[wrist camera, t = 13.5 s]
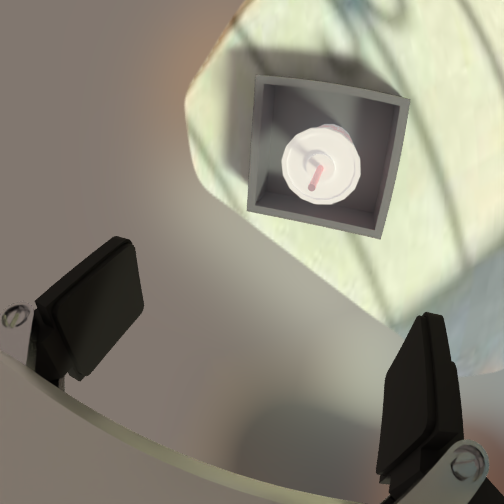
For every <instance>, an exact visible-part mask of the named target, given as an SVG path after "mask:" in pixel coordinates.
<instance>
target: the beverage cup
mask: <svg viewBox="0 0 504 504" xmlns="http://www.w3.org/2000/svg"><path fill="white" fill-rule="evenodd" d="M281 161H282V171H283V176H284V178H285V180H286V182H287V184H288V186H289V188H290V189H291V190H292V191H293V192H294V193H295V194H297V195H298V196H299V197H300V198H301V199H303V200H306V201H308V202H311V203H313V204H329V205H330V204H333V203H336V202H338V201H341V200H344V199H345V198H346V197H347V196H348V195H349V194H350V193H351V192H352V191H353V190H354V189H355V188H356V185H357V183H358V180H359V178H360V175H361V173H360V157H359V155H358V153H357V151H356V148H355V146H354V144H353V142H352V140H351V138H350V135H349V133H348V132H346V131H345V130H344V129H343V128H342V127H340V126H337V125H335V124H324V125H322V126H319V127H317V128H310V129H307V130H305V131H303V132H301V133H299V134H297V135H295V137H294V138H293V139H292V140H291V141H290V142H289V143H288V145H287V146H286V147H285V151H284V154H283V157H282V160H281Z"/></svg>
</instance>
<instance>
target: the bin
mask: <svg viewBox="0 0 504 504" xmlns="http://www.w3.org/2000/svg"><path fill="white" fill-rule="evenodd" d="M409 105H410V99H407V98H403V97H399V96H395V95H391V94H387V93H382V92H378V91H373V90H368V89H363V88H358V87H352V86H347V85H341V84H335V83H329V82H322V81H315V80H307V79H299V78H290V77H280V76H268V75H256V79H255V93H254V108H253V123H252V138H251V153H250V168H249V183H248V199H247V211H249V212H254V213H259V214H264V215H269V216H274V217H279V218H284V219H289V220H294V221H299V222H304V223H309V224H313V225H318V226H323V227H327V228H332V229H337V230H341V231H346V232H350V233H355V234H359V235H364V236H368V237H372V238H377V239H381V236H382V232H383V229H384V225H385V221H386V217H387V213H388V209H389V205H390V201H391V197H392V193H393V188H394V184H395V180H396V175H397V171H398V166H399V161H400V156H401V151H402V146H403V141H404V135H405V129H406V124H407V118H408V111H409ZM324 124H335V125H337V126H340V127H342V128H343V129H344V130H345V131H346V132H348V133H349V135H350V138H351V140H352V142H353V144H354V146H355V148H356V151H357V153H358V155H359V157H360V173H361V175H360V178H359V180H358V183H357V185H356V188H355V189H354V190H353V191H352V192H351V193H350V194H349V195H348V196H347V197H346V198H345V199H344V200H341V201H338V202H336V203H333V204H330V205H329V204H313V203H311V202H308V201H306V200H303V199H301V198H300V197H299V196H298V195H297V194H295V193H294V192H293V191H292V190H291V189H290V188H289V186H288V184H287V182H286V180H285V178H284V176H283V171H282V161H281V160H282V157H283V154H284V151H285V147H286V146H287V145H288V143H289V142H290V141H291V140H292V139H293V138H294V137H295V135H297V134H299V133H301V132H303V131H305V130H307V129H310V128H317V127H319V126H322V125H324Z"/></svg>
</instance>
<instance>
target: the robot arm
mask: <svg viewBox="0 0 504 504" xmlns="http://www.w3.org/2000/svg"><path fill="white" fill-rule="evenodd" d="M35 303H36V305H37V309H36V310H34V309H33V307H32V305H30V304H29V303H27V302H17V303H13V304H11V305H9V306H8V307H6V308H5V309H4V310H3V311H2V312H1V314H0V504H366V503H359V502H352V501H346V500H340V499H335V498H329V497H324V496H319V495H314V494H310V493H305V492H301V491H297V490H292V489H288V488H284V487H280V486H276V485H272V484H268V483H265V482H261V481H257V480H255V479H251V478H248V477H245V476H242V475H238V474H235V473H232V472H229V471H226V470H223V469H220V468H218V467H215V466H212V465H209V464H207V463H204V462H201V461H199V460H196V459H194V458H191V457H188V456H186V455H183V454H181V453H179V452H176V451H174V450H172V449H170V448H167V447H165V446H163V445H160V444H158V443H156V442H154V441H152V440H150V439H148V438H145V437H143V436H141V435H139V434H137V433H135V432H133V431H131V430H129V429H127V428H125V427H124V426H122V425H120V424H118V423H116V422H114V421H112V420H110V419H109V418H107V417H105V416H103V415H101V414H100V413H98V412H96V411H94V410H93V409H91V408H89V407H88V406H86V405H84V404H83V403H81V402H79V401H77V400H76V399H75V398H73V397H71V396H70V395H68V394H67V393H65V387H64V386H65V381H64V379H65V378H64V377H65V374H66V373H67V372H68V373H69V375H70V376H71V377H73V378H75V379H76V380H78V381H81V380H82V379H83V378H84V377H85V376H88V375H89V374H91V372H92V371H93V370H94V369H95V368H96V366H97V365H98V364H99V363H100V362H101V360H102V359H103V358H104V357H105V355H106V354H107V353H108V352H109V351H110V350H111V348H112V347H113V346H114V345H115V344H116V342H117V341H118V340H119V339H120V338H121V336H122V335H123V334H124V333H125V332H126V330H128V328H129V327H130V326H131V325H132V324H133V322H134V321H135V320H136V319H137V318H138V317H139V316H140V314H141V313H142V311H143V308H144V301H143V296H142V290H141V284H140V278H139V272H138V265H137V258H136V251H135V247H134V245H132V242H131V241H130V240H129V239H125V238H121V237H118V236H115V237H112V238H111V239H110V240H109V241H108V242H106V243H105V244H103V245H102V246H101V247H100V248H98V249H97V250H96V251H94V252H93V253H92V254H91V255H89V256H88V257H87V258H85V259H84V260H83V261H82V262H81V263H79V264H78V265H77V266H76V267H74V268H73V269H72V270H71V271H69V272H68V273H67V274H66V275H65V276H63V277H62V278H61V279H60V280H59V281H57V282H56V283H55V284H54V285H53V286H51V287H50V288H49V289H48V290H47V291H46V292H45V293H43V294H42V295H41V296H40V297H39V298H38V299H36V300H35ZM488 471H489V458H488V455H487V453H486V451H485V450H484V449H483V447H482V446H481V445H480V444H478V443H477V442H475V441H472V440H464V433H463V419H462V408H461V399H460V390H459V382H458V375H457V368H456V365H455V363H454V362H452V361H451V356H450V349H449V344H448V338H447V333H446V327H445V322H444V318H443V316H442V315H438V314H433V313H429V312H425V313H424V314H423V315H422V316H417V318H416V319H415V321H414V323H413V325H412V327H411V329H410V331H409V333H408V335H407V337H406V339H405V341H404V343H403V345H402V347H401V348H400V350H399V352H398V354H397V356H396V358H395V359H394V361H393V363H392V365H391V367H390V368H389V370H388V372H387V374H386V378H385V385H384V402H383V415H382V425H381V434H380V444H379V451H378V460H377V467H376V473H377V474H379V475H380V481H379V483H381V484H390V487H389V493H390V495H389V496H388V497H387V498H386V499H385V500H383V501H382V502H381V503H380V504H504V496H503V495H502V494H501V493H500V492H499V491H498V489H497V488H496V487H495V486H494V485H493V484H492V483H491V482H490V481H489V479H488V478H487V477H486V476H487V474H488Z"/></svg>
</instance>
